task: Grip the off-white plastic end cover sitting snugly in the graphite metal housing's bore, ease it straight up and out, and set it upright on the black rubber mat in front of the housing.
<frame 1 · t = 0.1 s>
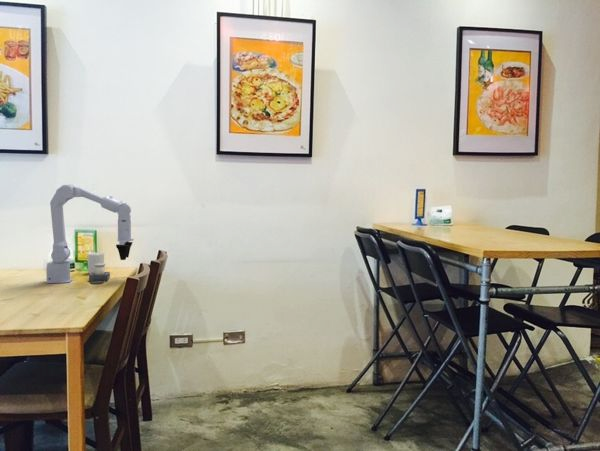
hand: (124, 258, 236), 10 cm above the table, fingers open, 7 cm apart
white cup: (96, 273, 251), on the table
end cover: (99, 272, 235), in the housing
mat: (97, 282, 228), on the table
housing: (99, 279, 236), on the table
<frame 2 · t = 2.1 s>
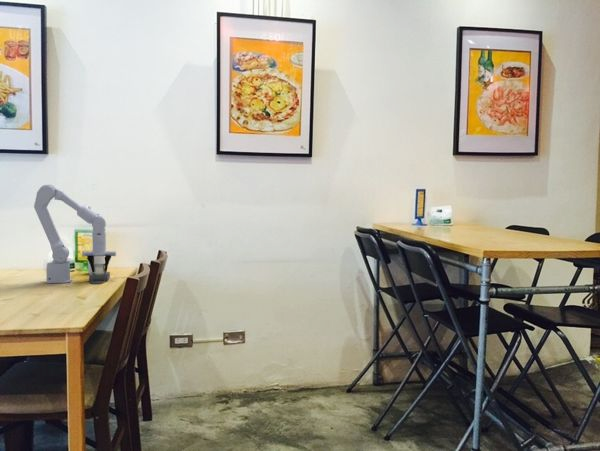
hand: (99, 271, 235), 4 cm above the table, fingers closed on end cover, 5 cm apart
end cover: (99, 271, 235), in the housing, touching gripper
everything else where it was.
when the fingers open (5 cm above the table, at t = 6.8 s): end cover drops 1 cm, resting on mat.
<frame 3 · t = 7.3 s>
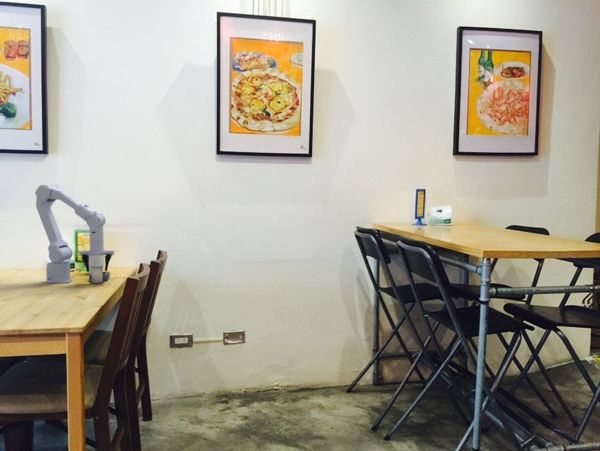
hand: (97, 271, 228), 5 cm above the table, fingers open, 7 cm apart
end cover: (97, 273, 228), on the mat
everything else where it was.
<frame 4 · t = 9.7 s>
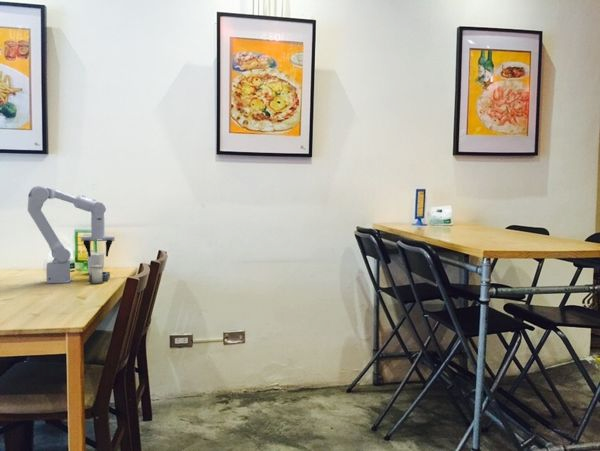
hand: (98, 256, 238), 10 cm above the table, fingers open, 7 cm apart
nothing on the table moved.
at the end: end cover 0.4 cm off-centre on the mat, point 4.1 cm above the mat's base; end cover tilted 0°; end cover touching mat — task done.
